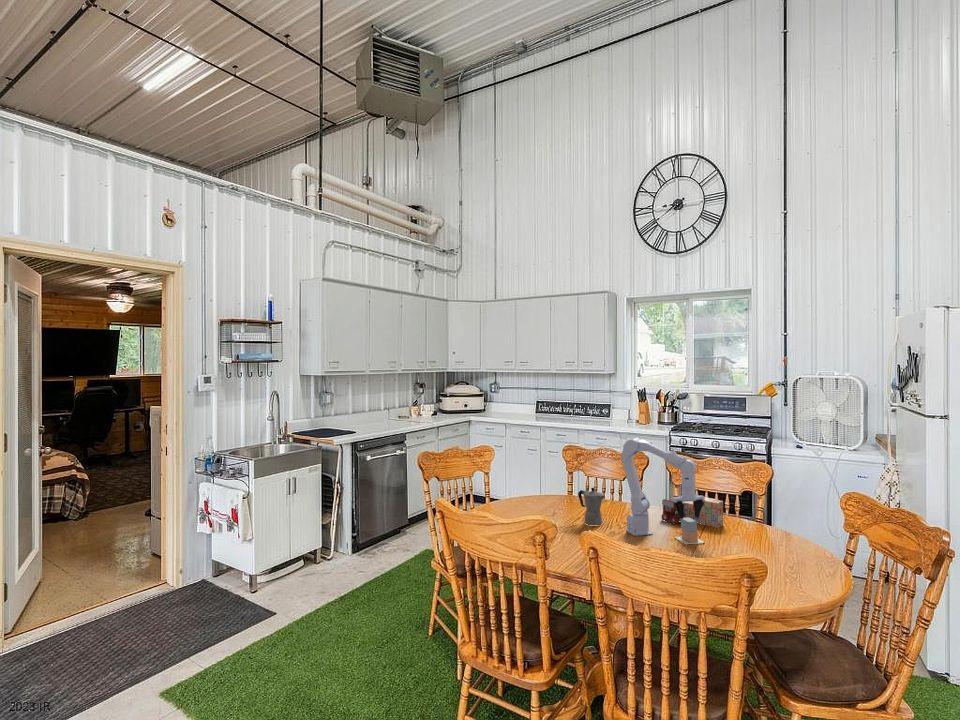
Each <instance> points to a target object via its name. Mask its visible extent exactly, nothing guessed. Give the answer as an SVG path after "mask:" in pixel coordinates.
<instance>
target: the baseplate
mask: <svg viewBox="0 0 960 720" xmlns="http://www.w3.org/2000/svg"><path fill="white" fill-rule="evenodd" d="M675 538H676V539H677V541H678V540H679V542H680V541H681V542H683V543H684V544H683V543H682V544H683V545H685V544H686V545H685V546H688V545H687V544H695V545H704V544H703V543H705V542H704V541H703V540H701V539H700V538H698V542H688V541H686V540H685V539H683V538H682V536H674V539H675ZM676 539H675V540H676ZM681 542H680V543H681ZM705 544H706V543H705Z"/></svg>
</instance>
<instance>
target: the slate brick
mask: <svg viewBox="0 0 960 720" xmlns="http://www.w3.org/2000/svg"><path fill="white" fill-rule="evenodd" d="M697 526H698V524H697V521H695V520H693V519H691V518H689V517H687V518H683V519H681V522H680V528H681V530H682V529H684V530H686V531H688V532H695V531H697V532H698V527H697Z"/></svg>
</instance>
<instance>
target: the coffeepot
mask: <svg viewBox="0 0 960 720" xmlns="http://www.w3.org/2000/svg"><path fill="white" fill-rule="evenodd" d="M590 489H591V491H587V490H582V489H580V490H579V491H578V493H577V495H578V499H579V502H580V503H579V504H580V507H583V508H586V510H585V514H584V515H585V516H584V522H583V523H586V524H588V525H601V524H602V523H604V522H603V516H602V511H601V507H602V502H603V500H604V498H606V496H605V495H604V494H603V493H602V492H599V491H595V487H591V488H590ZM582 495H583V496H582ZM583 498H584V499H583ZM583 500H584V501H583ZM602 525H603V524H602Z"/></svg>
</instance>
